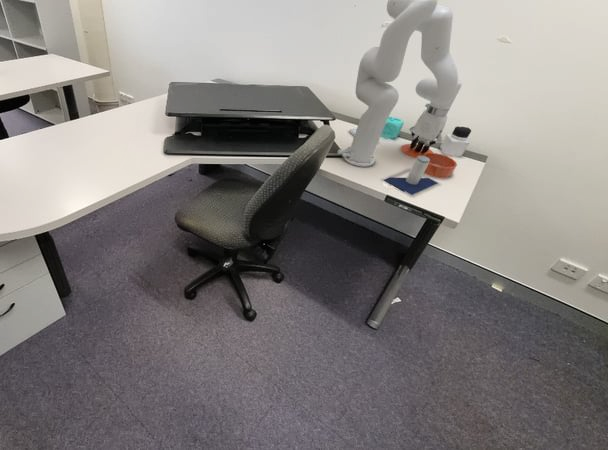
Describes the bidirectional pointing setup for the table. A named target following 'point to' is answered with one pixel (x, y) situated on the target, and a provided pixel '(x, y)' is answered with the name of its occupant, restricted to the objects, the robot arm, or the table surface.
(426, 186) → the towel
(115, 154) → the table surface
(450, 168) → the pot
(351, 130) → the hard drive
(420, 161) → the salt shaker
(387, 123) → the decorative dice
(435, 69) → the robot arm
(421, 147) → the pot lid
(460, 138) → the medicine bottle
